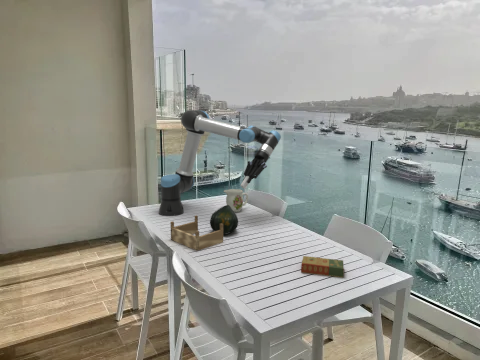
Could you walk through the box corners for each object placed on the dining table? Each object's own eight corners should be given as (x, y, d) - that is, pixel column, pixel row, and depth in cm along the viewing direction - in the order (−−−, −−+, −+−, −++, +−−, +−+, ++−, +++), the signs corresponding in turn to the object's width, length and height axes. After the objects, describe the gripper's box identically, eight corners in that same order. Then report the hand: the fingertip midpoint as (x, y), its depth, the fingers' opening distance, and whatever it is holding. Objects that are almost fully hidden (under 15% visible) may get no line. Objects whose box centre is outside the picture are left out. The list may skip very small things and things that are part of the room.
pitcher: (252, 210, 224) (252, 189, 221) (228, 214, 214) (228, 192, 212) (243, 206, 233) (243, 186, 230) (219, 210, 223) (219, 189, 221)
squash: (203, 226, 174) (223, 204, 173) (206, 218, 189) (225, 198, 187) (224, 244, 175) (244, 223, 174) (226, 235, 190) (244, 216, 188)
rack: (170, 239, 171) (170, 221, 169) (196, 232, 182) (196, 215, 181) (197, 250, 157) (197, 231, 156) (223, 241, 168) (223, 223, 167)
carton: (302, 264, 144) (303, 255, 143) (343, 269, 140) (343, 259, 139) (300, 273, 136) (301, 263, 135) (343, 278, 132) (344, 268, 131)
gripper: (275, 159, 195) (255, 193, 186) (257, 157, 204) (237, 189, 195) (269, 150, 190) (248, 184, 181) (251, 148, 199) (230, 181, 191)
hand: (242, 187), depth 188 cm, fingers closed
